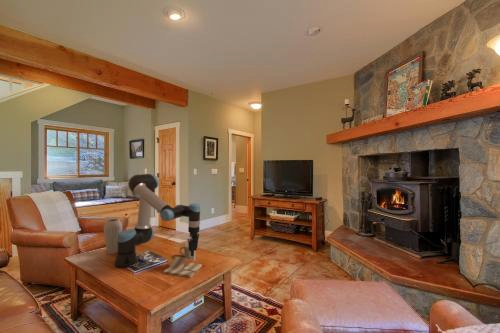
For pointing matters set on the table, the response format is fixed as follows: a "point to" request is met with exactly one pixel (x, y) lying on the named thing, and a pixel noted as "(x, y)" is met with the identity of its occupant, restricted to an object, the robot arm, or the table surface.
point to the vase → (112, 235)
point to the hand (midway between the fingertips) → (192, 259)
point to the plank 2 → (192, 267)
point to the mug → (186, 251)
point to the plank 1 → (178, 263)
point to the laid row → (179, 272)
